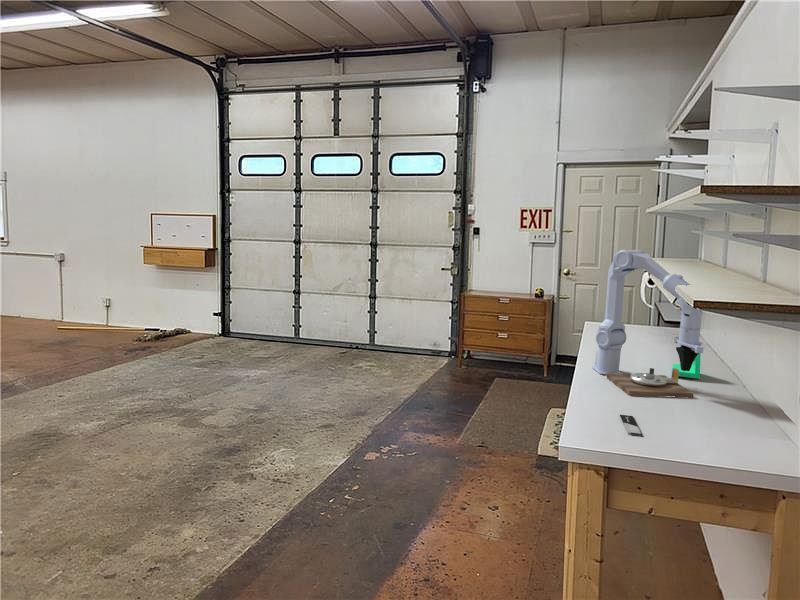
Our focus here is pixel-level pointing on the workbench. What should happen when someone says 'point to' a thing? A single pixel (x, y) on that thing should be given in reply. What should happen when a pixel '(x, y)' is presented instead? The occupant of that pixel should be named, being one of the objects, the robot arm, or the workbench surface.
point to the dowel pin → (651, 371)
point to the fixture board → (648, 387)
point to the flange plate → (654, 378)
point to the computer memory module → (631, 426)
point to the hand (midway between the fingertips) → (685, 370)
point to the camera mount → (693, 371)
